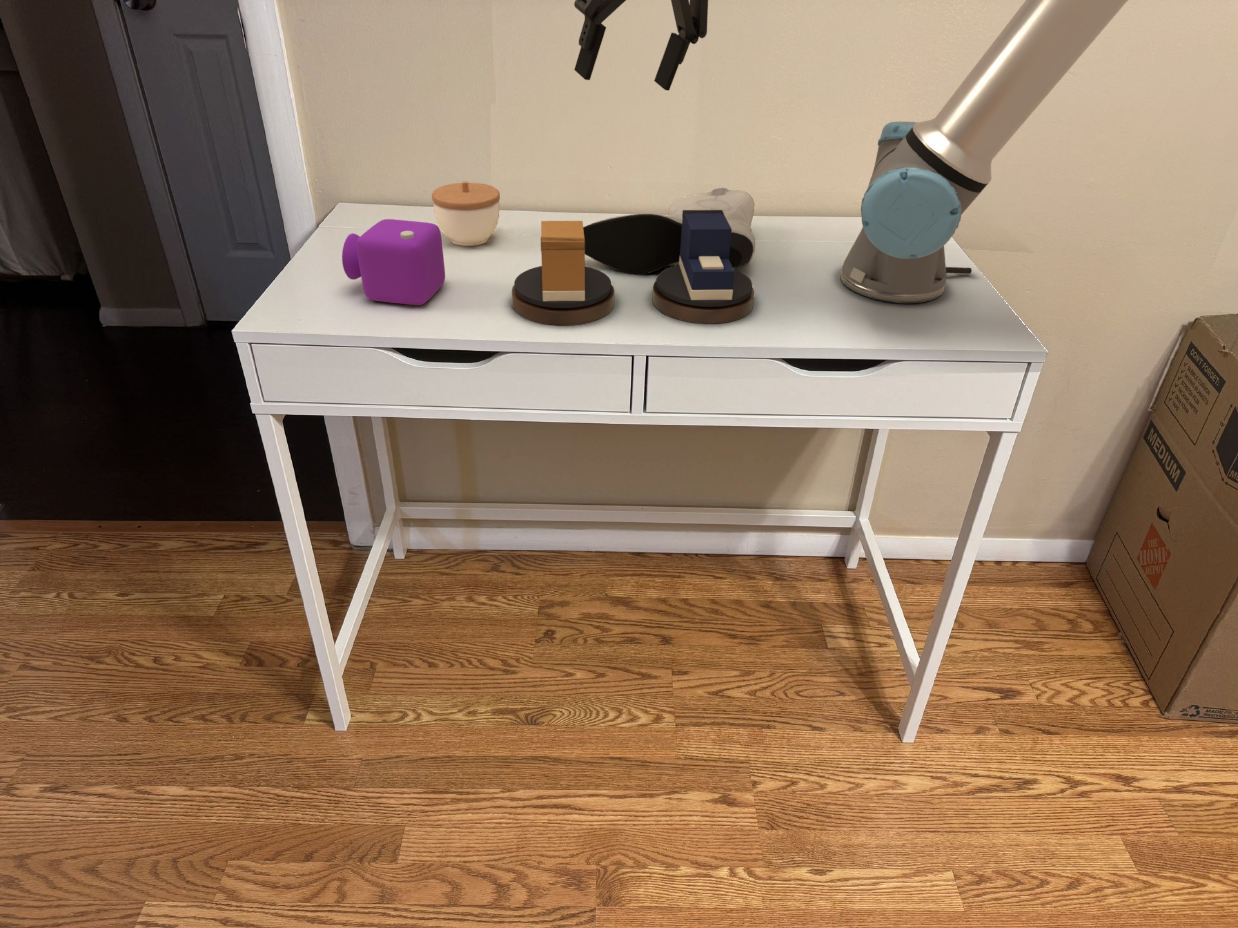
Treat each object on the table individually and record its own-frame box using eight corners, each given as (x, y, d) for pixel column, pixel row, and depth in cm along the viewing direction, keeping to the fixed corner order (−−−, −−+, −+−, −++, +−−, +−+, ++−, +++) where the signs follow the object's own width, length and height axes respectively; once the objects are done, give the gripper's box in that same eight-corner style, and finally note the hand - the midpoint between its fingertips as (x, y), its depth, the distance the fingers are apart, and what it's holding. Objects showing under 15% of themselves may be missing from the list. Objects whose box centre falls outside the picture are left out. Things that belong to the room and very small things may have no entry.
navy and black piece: (651, 268, 123) (654, 208, 118) (741, 268, 124) (748, 208, 119) (661, 307, 112) (665, 243, 107) (760, 306, 113) (769, 242, 108)
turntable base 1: (610, 282, 125) (610, 269, 124) (617, 325, 113) (617, 311, 112) (513, 282, 124) (513, 270, 122) (510, 326, 112) (510, 312, 111)
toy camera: (358, 276, 124) (346, 210, 118) (449, 278, 124) (443, 212, 118) (337, 307, 115) (324, 237, 110) (436, 309, 115) (428, 240, 110)
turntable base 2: (742, 281, 126) (743, 268, 125) (762, 323, 114) (764, 310, 113) (647, 282, 125) (648, 269, 124) (658, 324, 113) (659, 311, 112)
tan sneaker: (614, 308, 112) (616, 243, 107) (513, 309, 111) (509, 243, 106) (608, 268, 123) (609, 208, 118) (515, 269, 122) (512, 208, 117)
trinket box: (426, 235, 139) (419, 178, 133) (484, 224, 144) (480, 169, 138) (453, 256, 131) (447, 196, 126) (513, 244, 136) (510, 186, 131)
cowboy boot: (758, 235, 120) (767, 185, 140) (573, 203, 123) (608, 158, 143) (745, 295, 125) (755, 239, 146) (569, 263, 128) (603, 212, 148)
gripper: (738, -88, 106) (676, 77, 120) (581, -139, 91) (530, 56, 105) (775, -66, 103) (706, 102, 116) (618, -115, 88) (560, 84, 101)
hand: (623, 81), depth 110 cm, fingers open, 13 cm apart
